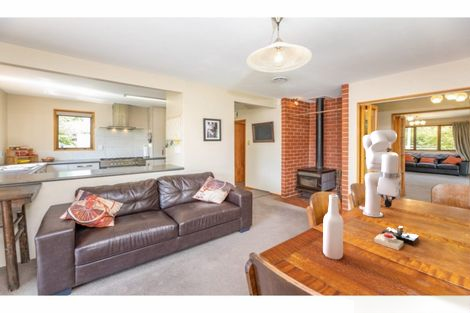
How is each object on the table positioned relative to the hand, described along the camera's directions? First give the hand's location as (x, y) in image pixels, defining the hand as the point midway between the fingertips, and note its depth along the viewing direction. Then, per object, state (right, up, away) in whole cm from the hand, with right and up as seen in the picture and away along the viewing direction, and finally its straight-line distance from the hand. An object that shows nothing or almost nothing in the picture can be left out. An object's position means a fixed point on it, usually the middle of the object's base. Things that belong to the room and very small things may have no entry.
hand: (387, 206), depth 117 cm
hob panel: (+6, -18, -1) cm, 19 cm away
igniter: (-5, -18, -7) cm, 20 cm away
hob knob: (+6, -15, -2) cm, 16 cm away
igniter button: (-5, -15, -7) cm, 17 cm away
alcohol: (-39, -20, -16) cm, 47 cm away
